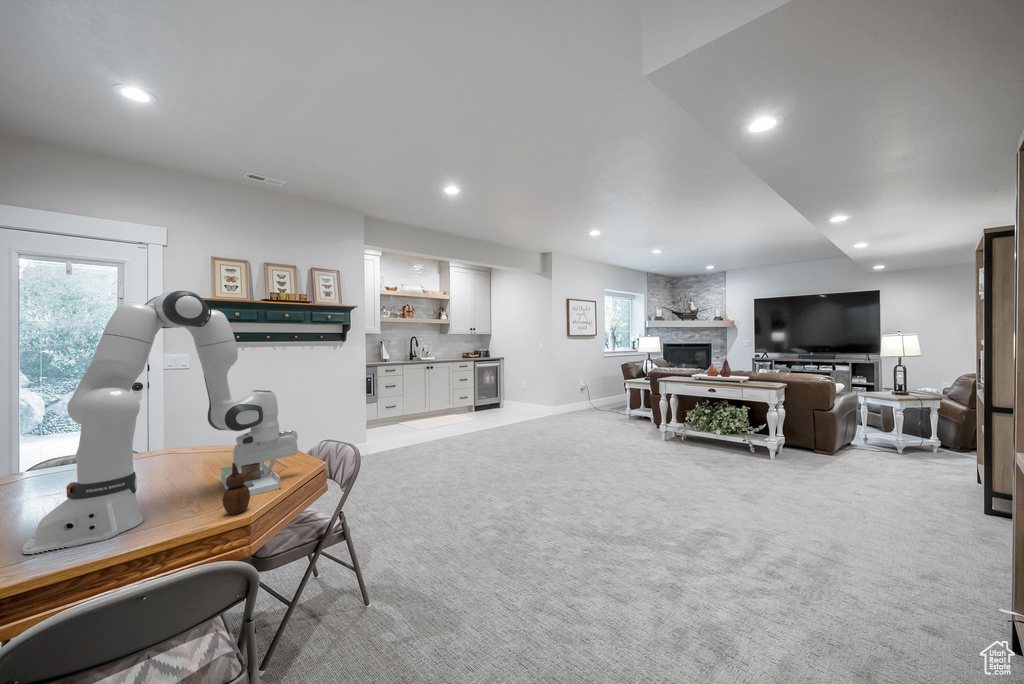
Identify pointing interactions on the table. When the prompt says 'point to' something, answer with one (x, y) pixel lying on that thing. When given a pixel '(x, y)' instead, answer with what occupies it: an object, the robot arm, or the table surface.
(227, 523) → the table surface
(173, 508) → the table surface
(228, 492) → the wooden figurine
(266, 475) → the box
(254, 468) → the walnut block
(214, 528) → the table surface
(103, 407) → the robot arm
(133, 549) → the table surface
